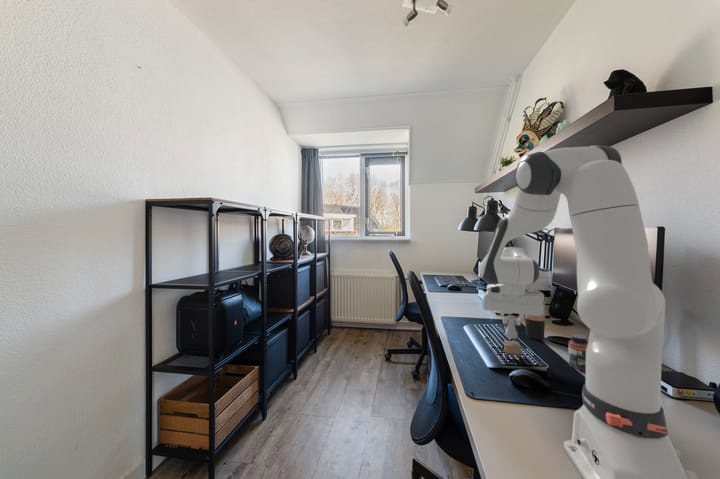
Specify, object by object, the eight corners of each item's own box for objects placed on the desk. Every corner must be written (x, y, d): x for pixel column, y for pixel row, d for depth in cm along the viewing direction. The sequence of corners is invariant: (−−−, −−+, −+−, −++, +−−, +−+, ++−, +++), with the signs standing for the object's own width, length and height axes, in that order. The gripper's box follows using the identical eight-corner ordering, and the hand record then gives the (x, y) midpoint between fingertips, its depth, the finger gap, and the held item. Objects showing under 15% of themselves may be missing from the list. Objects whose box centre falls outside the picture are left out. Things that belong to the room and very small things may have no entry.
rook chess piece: (519, 339, 99) (519, 318, 99) (506, 338, 100) (506, 317, 100) (515, 334, 104) (515, 314, 104) (503, 333, 105) (503, 313, 104)
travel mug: (521, 335, 124) (521, 293, 124) (531, 332, 128) (531, 291, 127) (538, 341, 118) (538, 296, 117) (548, 338, 121) (548, 295, 120)
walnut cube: (520, 360, 99) (520, 347, 99) (505, 358, 101) (505, 345, 101) (518, 354, 103) (518, 342, 103) (504, 352, 105) (504, 340, 105)
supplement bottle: (581, 363, 97) (582, 333, 97) (594, 372, 91) (595, 339, 91) (564, 363, 98) (564, 332, 97) (576, 371, 92) (576, 339, 91)
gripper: (542, 289, 100) (541, 325, 101) (483, 284, 109) (482, 318, 109) (546, 292, 94) (545, 330, 95) (483, 287, 103) (482, 322, 103)
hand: (511, 324), depth 102 cm, fingers closed on rook chess piece, 3 cm apart
